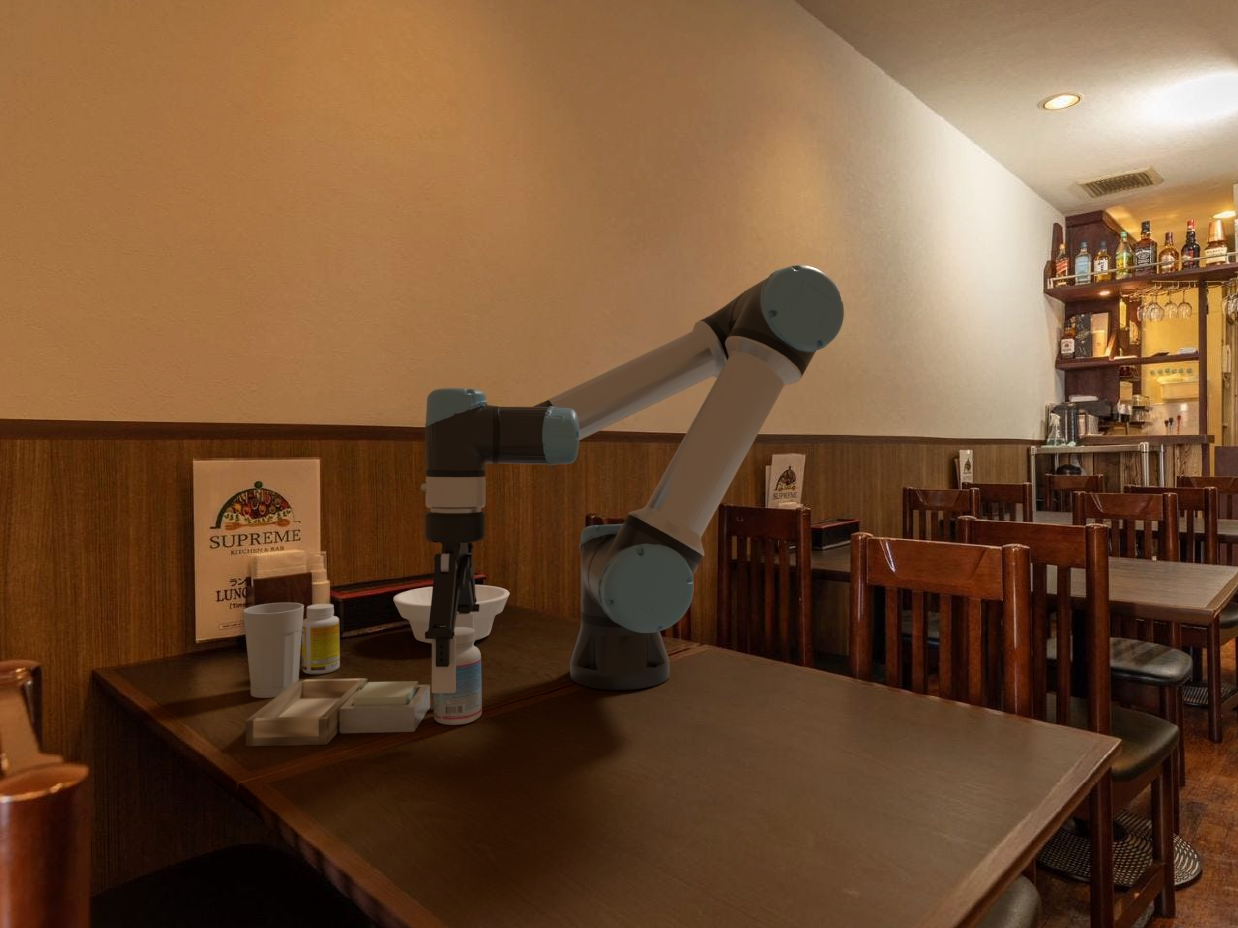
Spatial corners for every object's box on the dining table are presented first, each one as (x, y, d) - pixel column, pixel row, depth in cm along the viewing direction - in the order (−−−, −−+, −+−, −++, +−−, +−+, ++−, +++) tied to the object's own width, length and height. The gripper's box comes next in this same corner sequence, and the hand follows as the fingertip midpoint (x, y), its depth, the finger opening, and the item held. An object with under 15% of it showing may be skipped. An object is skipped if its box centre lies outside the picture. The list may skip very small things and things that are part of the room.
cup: (281, 701, 103) (280, 614, 103) (231, 697, 105) (230, 612, 105) (316, 683, 111) (315, 603, 111) (268, 681, 113) (267, 601, 112)
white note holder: (430, 706, 100) (430, 681, 100) (414, 731, 91) (414, 704, 91) (361, 707, 100) (360, 683, 100) (338, 733, 91) (337, 706, 91)
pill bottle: (491, 713, 97) (490, 627, 97) (462, 729, 92) (461, 638, 92) (453, 707, 100) (452, 623, 100) (423, 722, 94) (422, 633, 94)
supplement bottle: (347, 667, 119) (346, 603, 119) (320, 677, 114) (319, 610, 114) (321, 663, 122) (320, 601, 122) (294, 673, 117) (293, 607, 116)
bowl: (531, 630, 144) (530, 588, 144) (466, 658, 125) (465, 609, 125) (442, 621, 152) (441, 581, 152) (368, 646, 133) (367, 600, 133)
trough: (367, 699, 103) (367, 678, 103) (326, 744, 87) (326, 718, 87) (299, 701, 103) (298, 679, 103) (245, 746, 87) (245, 720, 87)
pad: (417, 690, 99) (417, 681, 99) (405, 706, 92) (405, 696, 92) (369, 691, 99) (368, 682, 99) (353, 707, 92) (353, 697, 92)
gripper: (444, 503, 108) (443, 650, 108) (401, 517, 83) (399, 707, 83) (496, 504, 108) (495, 650, 108) (469, 518, 83) (467, 707, 83)
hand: (454, 675), depth 96 cm, fingers open, 13 cm apart
